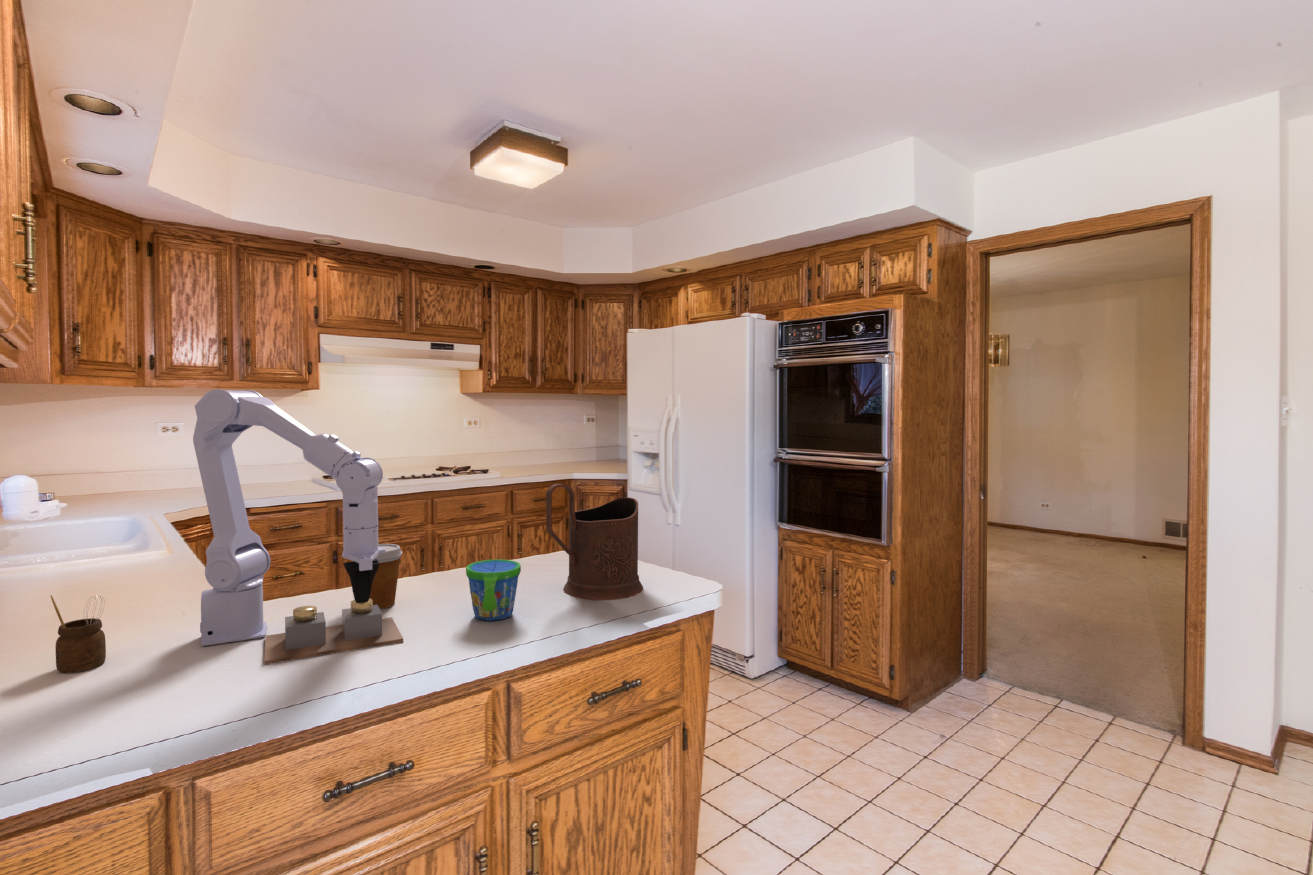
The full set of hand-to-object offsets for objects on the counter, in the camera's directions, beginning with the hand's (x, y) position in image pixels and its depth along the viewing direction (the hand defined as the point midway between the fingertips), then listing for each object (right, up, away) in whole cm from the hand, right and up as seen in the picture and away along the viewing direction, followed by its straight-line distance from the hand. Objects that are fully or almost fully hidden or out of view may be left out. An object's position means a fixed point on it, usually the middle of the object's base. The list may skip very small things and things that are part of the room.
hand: (361, 601), depth 118 cm
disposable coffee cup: (-5, -6, +18) cm, 20 cm away
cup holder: (+39, -6, +31) cm, 50 cm away
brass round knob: (0, -5, 0) cm, 5 cm away
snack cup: (+21, -6, +12) cm, 25 cm away
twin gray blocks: (-4, -6, -2) cm, 8 cm away
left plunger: (-8, -6, -4) cm, 11 cm away
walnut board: (-4, -6, -2) cm, 8 cm away
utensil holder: (-38, -7, -15) cm, 41 cm away
